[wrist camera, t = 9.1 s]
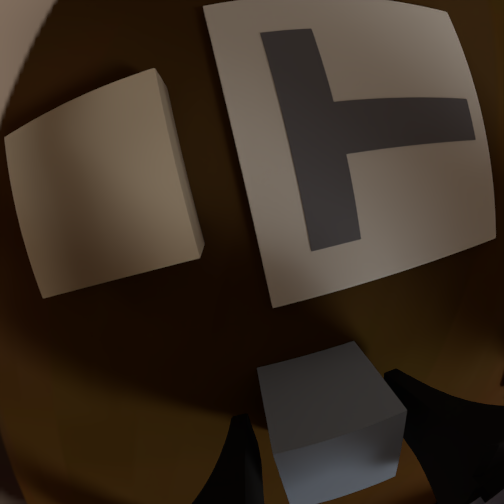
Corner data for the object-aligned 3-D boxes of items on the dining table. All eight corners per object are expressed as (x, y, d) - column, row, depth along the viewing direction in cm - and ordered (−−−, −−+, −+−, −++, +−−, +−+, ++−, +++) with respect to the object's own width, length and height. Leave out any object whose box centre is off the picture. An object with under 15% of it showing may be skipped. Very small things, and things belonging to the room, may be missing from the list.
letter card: (442, 14, 9) (447, 11, 9) (490, 236, 12) (496, 238, 12) (203, 11, 9) (202, 5, 8) (271, 304, 12) (273, 308, 11)
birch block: (168, 90, 10) (154, 67, 8) (205, 242, 11) (200, 258, 9) (38, 142, 10) (4, 137, 7) (72, 277, 11) (42, 298, 9)
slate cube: (353, 340, 13) (407, 410, 8) (356, 407, 14) (395, 476, 9) (256, 367, 12) (272, 454, 8) (274, 431, 13) (291, 509, 9)
